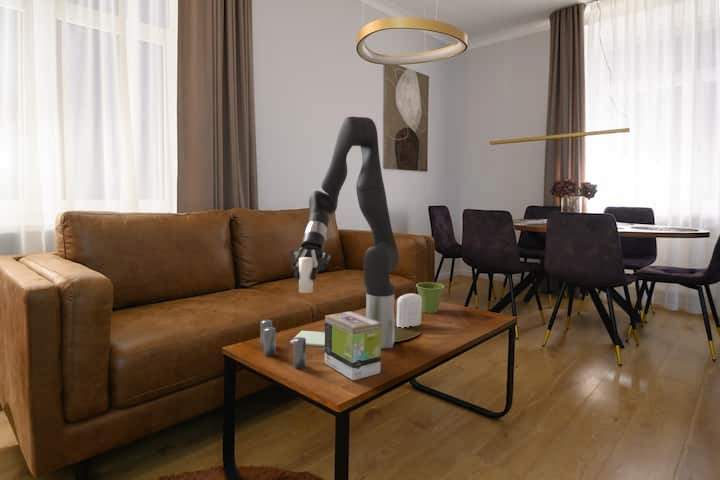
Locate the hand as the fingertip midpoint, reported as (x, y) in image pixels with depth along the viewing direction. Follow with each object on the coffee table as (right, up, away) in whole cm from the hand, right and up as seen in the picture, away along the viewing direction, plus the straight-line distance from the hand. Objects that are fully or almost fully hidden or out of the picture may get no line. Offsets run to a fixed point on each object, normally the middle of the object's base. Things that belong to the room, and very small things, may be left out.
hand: (304, 278), depth 141 cm
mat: (+2, -21, +8) cm, 23 cm away
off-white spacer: (0, -4, +2) cm, 5 cm away
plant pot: (+47, -18, +44) cm, 67 cm away
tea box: (+16, -24, -15) cm, 33 cm away
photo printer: (+36, -20, +24) cm, 48 cm away
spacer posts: (-2, -23, -7) cm, 24 cm away
